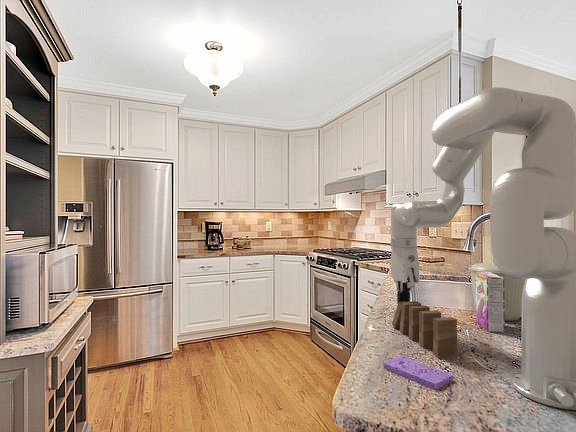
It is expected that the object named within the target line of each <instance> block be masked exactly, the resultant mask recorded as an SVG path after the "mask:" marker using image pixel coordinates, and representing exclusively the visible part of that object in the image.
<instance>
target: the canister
mask: <svg viewBox="0 0 576 432" xmlns="http://www.w3.org/2000/svg"><path fill="white" fill-rule="evenodd" d="M491 261H492V262H479V263H474V264H472V265H471V266H468V270H469V271H470V278H471V288H472V297H473V303H474V308H475V310H476V272H491V273H493V274H496V275H498V276H500V277H503V278H504V316H505V318H504V319H505V321H506V322H508V321H509V322H511V321H512V322H513V321H517V320H518V319H519V318H521V317H522V292H523V287H524V284H525V281H526V279H515V278H511V277H509V276H507V275H505V274H504V273H502V272H501V271H500V270H499V269H498V267H497V266H496V264H495V262H494V259H493V257H492V258H491Z"/></svg>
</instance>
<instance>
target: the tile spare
mask: <svg viewBox="0 0 576 432" xmlns="http://www.w3.org/2000/svg"><path fill="white" fill-rule="evenodd" d="M432 352H433V353H432V354H433V355H432V356H434V357H435V358H436V359H444V358H445V359H448V358H457V357H458V319H456V318H455V317H450V316H449V317H441V318H433V348H432Z"/></svg>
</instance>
